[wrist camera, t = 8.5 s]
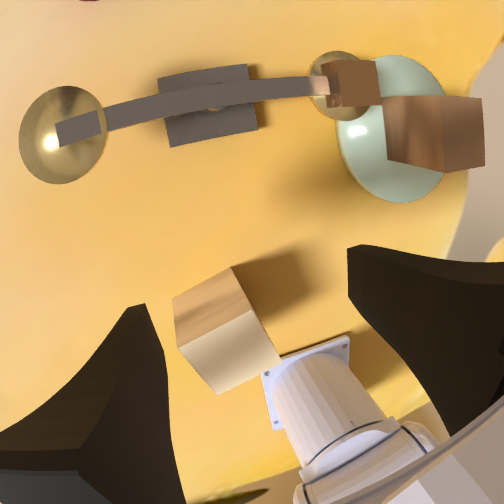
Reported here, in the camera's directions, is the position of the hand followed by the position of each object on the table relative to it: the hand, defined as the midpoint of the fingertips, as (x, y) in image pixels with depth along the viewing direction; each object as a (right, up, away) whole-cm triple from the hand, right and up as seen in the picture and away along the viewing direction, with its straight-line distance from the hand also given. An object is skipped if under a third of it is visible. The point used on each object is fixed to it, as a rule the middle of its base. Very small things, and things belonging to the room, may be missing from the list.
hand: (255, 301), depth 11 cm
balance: (-3, +10, +6) cm, 12 cm away
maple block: (-3, -2, +11) cm, 12 cm away
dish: (+11, +11, +10) cm, 18 cm away
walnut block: (+11, +11, +9) cm, 18 cm away
